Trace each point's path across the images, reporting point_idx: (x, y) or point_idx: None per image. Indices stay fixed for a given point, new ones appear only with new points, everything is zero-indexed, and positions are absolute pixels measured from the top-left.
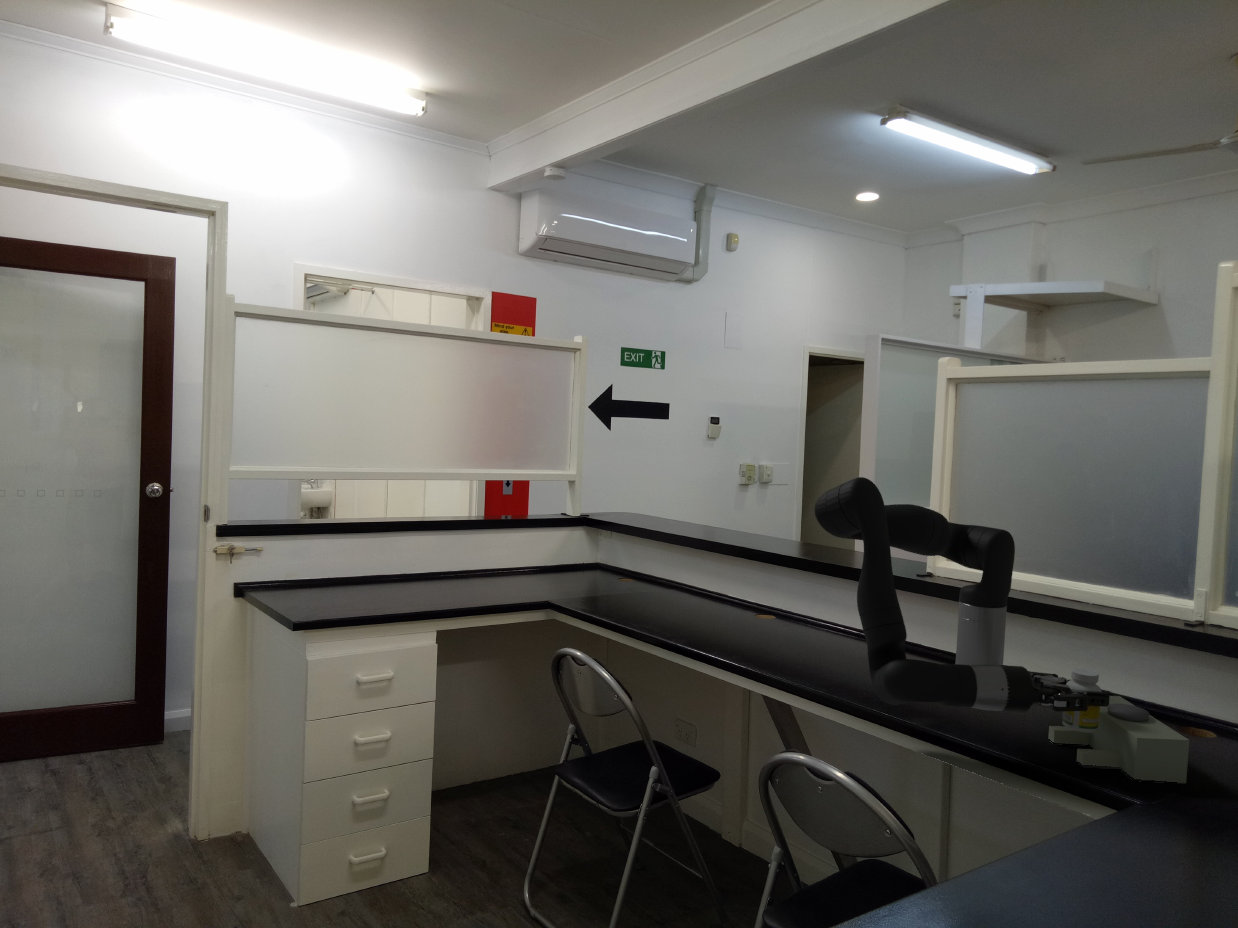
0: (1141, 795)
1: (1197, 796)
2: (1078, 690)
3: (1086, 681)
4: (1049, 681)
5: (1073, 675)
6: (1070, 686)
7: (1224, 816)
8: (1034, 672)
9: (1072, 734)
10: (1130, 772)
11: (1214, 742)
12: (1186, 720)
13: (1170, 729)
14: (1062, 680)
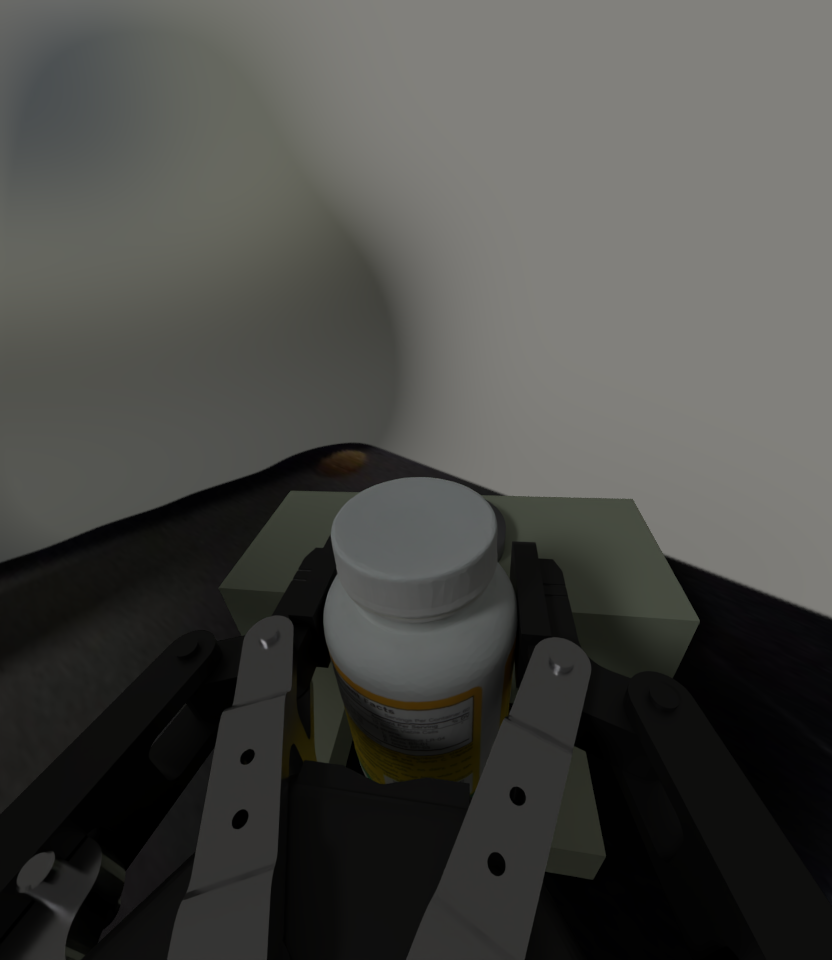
0: (799, 775)
1: (693, 607)
2: (537, 679)
3: (491, 574)
4: (441, 945)
5: (410, 602)
6: (428, 679)
7: (815, 616)
8: (37, 797)
9: (344, 728)
10: None
11: (387, 463)
12: (298, 454)
13: (551, 501)
14: (294, 658)
